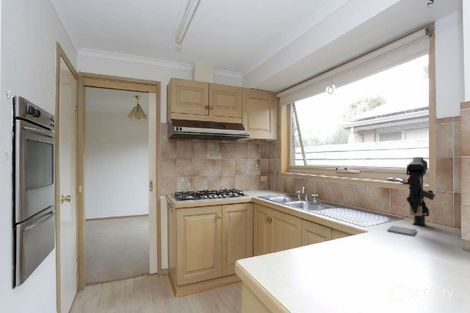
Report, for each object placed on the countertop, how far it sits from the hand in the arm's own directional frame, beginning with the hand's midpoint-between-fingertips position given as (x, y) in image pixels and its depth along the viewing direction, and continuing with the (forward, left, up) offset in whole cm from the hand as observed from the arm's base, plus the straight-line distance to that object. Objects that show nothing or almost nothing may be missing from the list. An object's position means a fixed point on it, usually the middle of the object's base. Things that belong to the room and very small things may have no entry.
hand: (415, 212), depth 134 cm
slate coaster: (+2, -6, -11) cm, 13 cm away
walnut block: (0, 0, -1) cm, 1 cm away
